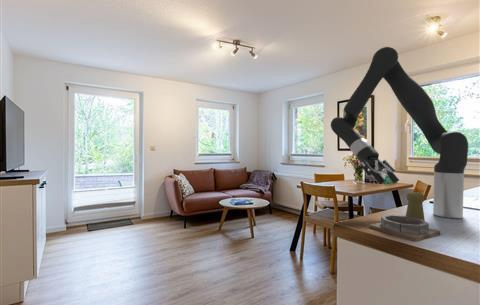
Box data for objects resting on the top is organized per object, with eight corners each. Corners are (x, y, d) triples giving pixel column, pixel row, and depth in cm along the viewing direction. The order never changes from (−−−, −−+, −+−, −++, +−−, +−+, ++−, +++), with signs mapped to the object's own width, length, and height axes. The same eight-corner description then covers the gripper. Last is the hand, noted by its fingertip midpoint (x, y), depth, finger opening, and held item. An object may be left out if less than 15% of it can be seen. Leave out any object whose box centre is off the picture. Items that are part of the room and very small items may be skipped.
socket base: (394, 222, 92) (394, 212, 92) (440, 234, 79) (440, 222, 79) (369, 227, 85) (369, 217, 85) (414, 241, 73) (414, 228, 73)
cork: (428, 227, 87) (429, 194, 87) (408, 225, 88) (409, 193, 88) (420, 222, 93) (421, 191, 93) (401, 221, 94) (402, 190, 94)
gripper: (358, 144, 103) (385, 176, 93) (380, 145, 109) (408, 175, 99) (346, 157, 107) (371, 189, 97) (369, 157, 114) (394, 187, 104)
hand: (390, 182), depth 98 cm, fingers open, 8 cm apart
